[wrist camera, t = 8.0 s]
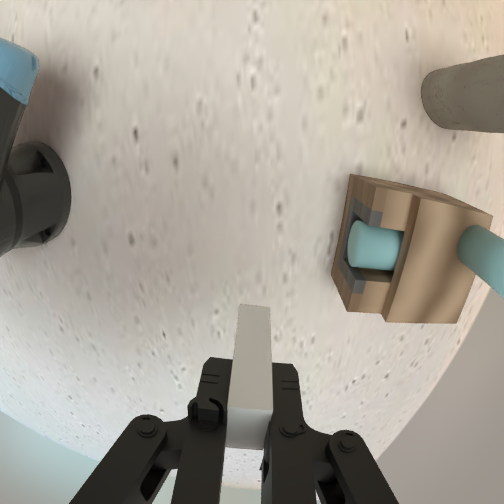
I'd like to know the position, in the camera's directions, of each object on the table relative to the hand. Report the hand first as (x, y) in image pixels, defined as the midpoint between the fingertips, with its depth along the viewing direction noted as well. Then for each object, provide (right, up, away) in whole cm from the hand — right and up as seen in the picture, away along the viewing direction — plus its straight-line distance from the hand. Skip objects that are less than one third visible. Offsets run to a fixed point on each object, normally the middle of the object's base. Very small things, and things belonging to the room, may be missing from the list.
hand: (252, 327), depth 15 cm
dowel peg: (+17, +5, +17) cm, 25 cm away
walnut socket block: (+18, +6, +21) cm, 28 cm away
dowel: (+23, +5, +10) cm, 25 cm away
